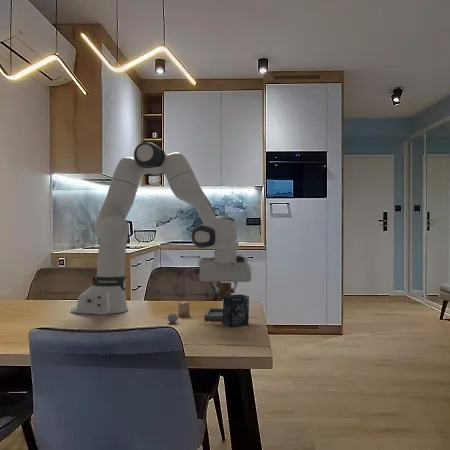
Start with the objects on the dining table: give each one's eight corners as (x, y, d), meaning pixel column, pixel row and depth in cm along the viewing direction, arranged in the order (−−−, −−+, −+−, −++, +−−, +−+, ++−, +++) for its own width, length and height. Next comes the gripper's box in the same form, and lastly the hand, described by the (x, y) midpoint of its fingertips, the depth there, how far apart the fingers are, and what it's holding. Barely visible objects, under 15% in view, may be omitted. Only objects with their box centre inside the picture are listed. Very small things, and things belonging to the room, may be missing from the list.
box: (231, 327, 181) (231, 297, 181) (222, 324, 186) (222, 295, 186) (249, 325, 186) (249, 295, 186) (240, 322, 190) (240, 293, 190)
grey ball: (166, 323, 187) (166, 313, 187) (168, 321, 190) (168, 311, 190) (176, 323, 186) (176, 313, 186) (178, 321, 190) (178, 312, 190)
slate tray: (204, 320, 194) (204, 315, 194) (208, 312, 210) (208, 308, 210) (241, 321, 193) (241, 316, 193) (243, 313, 209) (243, 308, 209)
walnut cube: (219, 299, 199) (219, 283, 199) (219, 297, 204) (219, 282, 204) (230, 299, 199) (230, 283, 199) (231, 297, 204) (231, 282, 203)
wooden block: (177, 316, 201) (177, 303, 201) (179, 314, 206) (179, 301, 205) (188, 316, 201) (188, 303, 201) (190, 314, 205) (190, 301, 205)
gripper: (197, 258, 199) (197, 294, 199) (251, 258, 198) (251, 294, 198) (199, 256, 205) (199, 291, 205) (251, 257, 204) (251, 292, 204)
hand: (225, 293), depth 201 cm, fingers closed on walnut cube, 4 cm apart
